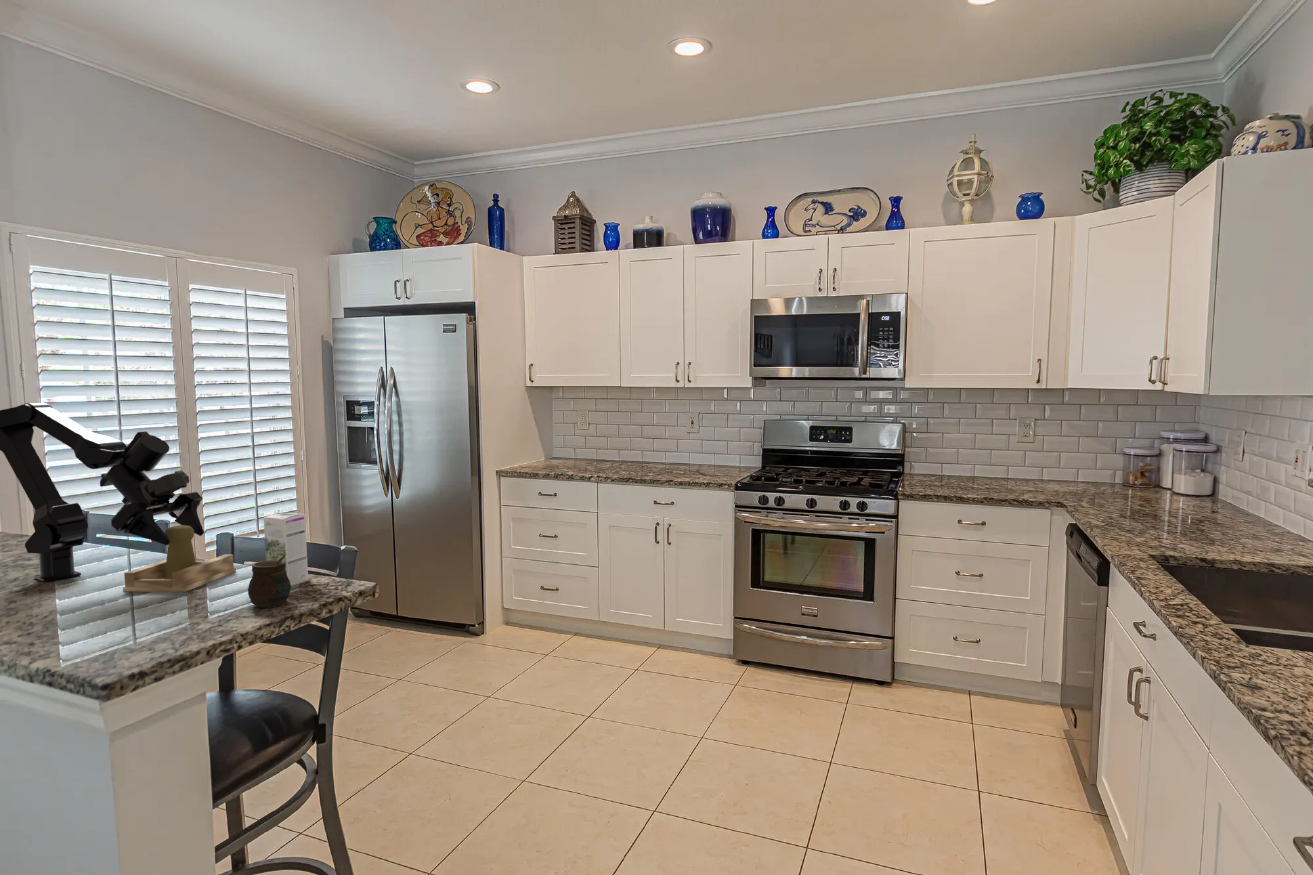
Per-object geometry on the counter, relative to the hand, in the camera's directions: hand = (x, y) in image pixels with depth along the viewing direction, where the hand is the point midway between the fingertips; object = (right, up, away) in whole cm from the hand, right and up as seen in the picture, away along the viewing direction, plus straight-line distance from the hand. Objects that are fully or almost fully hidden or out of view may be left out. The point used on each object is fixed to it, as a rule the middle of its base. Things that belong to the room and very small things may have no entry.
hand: (186, 538), depth 151 cm
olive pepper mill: (-1, -8, +1) cm, 9 cm away
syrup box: (+22, -9, -1) cm, 24 cm away
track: (-1, -9, +1) cm, 9 cm away
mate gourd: (+27, -10, -16) cm, 33 cm away
